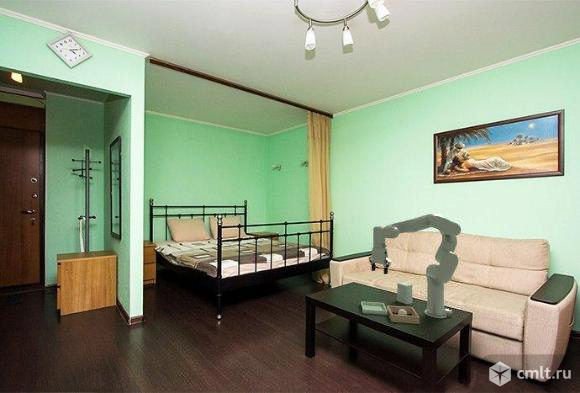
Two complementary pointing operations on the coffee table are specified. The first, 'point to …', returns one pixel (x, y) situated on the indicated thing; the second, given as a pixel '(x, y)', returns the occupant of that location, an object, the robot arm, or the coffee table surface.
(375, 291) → the coffee table surface
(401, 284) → the small box
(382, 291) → the coffee table surface
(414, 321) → the tan square frame
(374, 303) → the tray
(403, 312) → the ball
